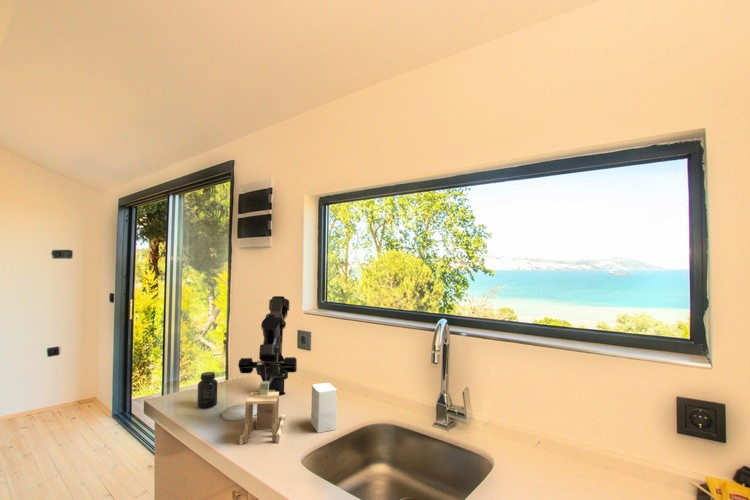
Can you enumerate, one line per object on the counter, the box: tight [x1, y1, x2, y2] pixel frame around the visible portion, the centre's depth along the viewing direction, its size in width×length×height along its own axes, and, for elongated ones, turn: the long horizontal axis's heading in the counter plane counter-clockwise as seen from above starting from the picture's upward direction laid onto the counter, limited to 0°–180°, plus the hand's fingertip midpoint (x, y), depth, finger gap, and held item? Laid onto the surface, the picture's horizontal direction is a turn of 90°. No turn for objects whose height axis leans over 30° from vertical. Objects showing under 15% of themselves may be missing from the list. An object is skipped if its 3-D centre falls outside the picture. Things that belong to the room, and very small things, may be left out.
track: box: [239, 414, 286, 446], centre depth 119 cm, size 18×11×2 cm, turn 8°
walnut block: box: [256, 390, 275, 431], centre depth 122 cm, size 5×5×11 cm
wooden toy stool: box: [243, 380, 280, 444], centre depth 115 cm, size 8×9×16 cm
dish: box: [221, 403, 257, 422], centre depth 131 cm, size 12×12×1 cm
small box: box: [310, 382, 338, 434], centre depth 123 cm, size 8×6×13 cm
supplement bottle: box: [196, 371, 219, 410], centre depth 138 cm, size 7×7×12 cm
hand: (265, 389), depth 119 cm, fingers closed, pressing on wooden toy stool
